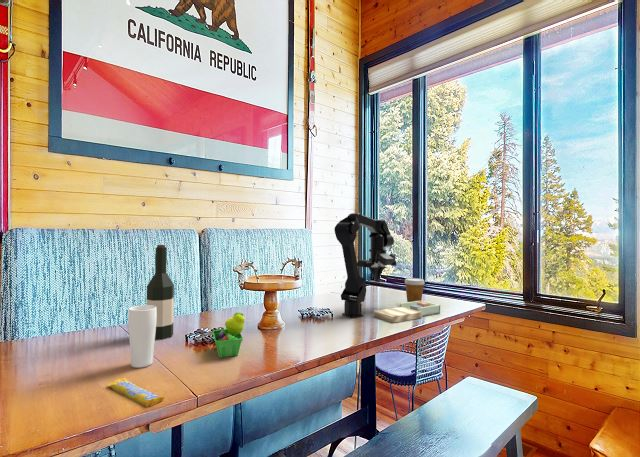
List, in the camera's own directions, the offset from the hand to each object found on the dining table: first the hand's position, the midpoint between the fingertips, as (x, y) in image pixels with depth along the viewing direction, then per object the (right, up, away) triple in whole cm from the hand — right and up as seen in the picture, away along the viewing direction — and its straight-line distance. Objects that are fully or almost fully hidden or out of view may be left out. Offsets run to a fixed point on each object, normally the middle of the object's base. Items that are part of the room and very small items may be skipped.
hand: (376, 281), depth 168 cm
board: (+6, -12, -16) cm, 21 cm away
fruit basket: (-52, -12, -60) cm, 80 cm away
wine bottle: (-78, -11, -46) cm, 92 cm away
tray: (+18, -12, -6) cm, 23 cm away
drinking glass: (-72, -12, -71) cm, 102 cm away
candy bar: (-66, -13, -87) cm, 110 cm away
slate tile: (+16, -12, -9) cm, 22 cm away
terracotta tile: (+18, -10, -8) cm, 22 cm away
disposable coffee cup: (+20, -13, +10) cm, 25 cm away
